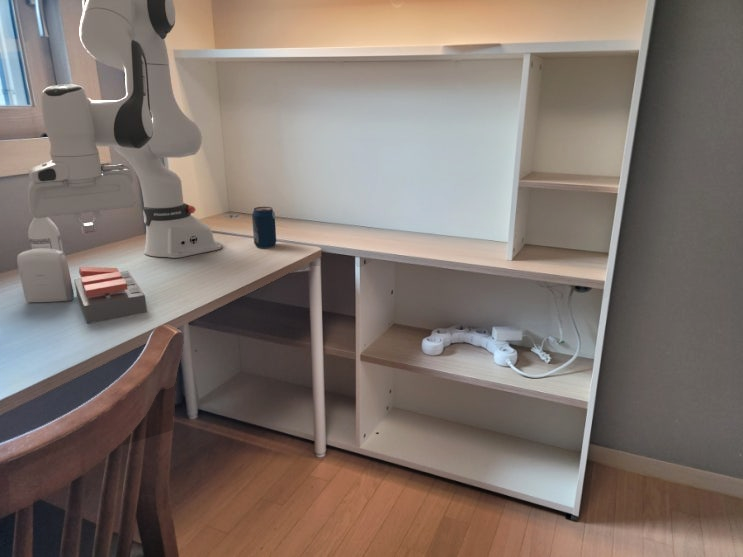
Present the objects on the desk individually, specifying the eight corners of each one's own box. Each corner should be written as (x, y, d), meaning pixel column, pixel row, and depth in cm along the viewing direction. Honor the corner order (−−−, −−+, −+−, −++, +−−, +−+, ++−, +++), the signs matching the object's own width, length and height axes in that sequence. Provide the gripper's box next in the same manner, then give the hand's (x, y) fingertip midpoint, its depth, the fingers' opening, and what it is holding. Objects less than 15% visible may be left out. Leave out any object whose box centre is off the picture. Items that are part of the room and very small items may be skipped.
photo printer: (22, 304, 125) (11, 252, 121) (32, 297, 129) (21, 246, 125) (69, 302, 126) (59, 251, 122) (77, 296, 130) (68, 246, 126)
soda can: (279, 243, 175) (278, 206, 171) (270, 249, 168) (268, 211, 164) (260, 242, 176) (257, 205, 172) (250, 248, 170) (247, 210, 166)
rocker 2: (119, 277, 127) (119, 271, 127) (122, 281, 124) (121, 275, 124) (81, 283, 123) (80, 277, 123) (83, 288, 120) (82, 282, 120)
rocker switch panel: (130, 285, 137) (127, 268, 135) (147, 311, 121) (144, 292, 119) (76, 294, 131) (73, 276, 129) (87, 323, 115) (83, 303, 113)
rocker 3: (124, 284, 122) (123, 278, 122) (127, 289, 119) (126, 283, 119) (84, 291, 118) (83, 285, 118) (87, 296, 115) (86, 290, 115)
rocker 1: (116, 273, 132) (116, 268, 132) (119, 277, 129) (119, 272, 129) (79, 272, 128) (79, 266, 127) (81, 276, 125) (81, 271, 124)
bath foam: (55, 273, 146) (41, 199, 139) (74, 276, 143) (60, 201, 136) (31, 281, 140) (14, 204, 133) (49, 285, 137) (34, 206, 130)
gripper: (128, 161, 121) (137, 222, 126) (20, 170, 110) (35, 235, 115) (133, 165, 116) (143, 228, 121) (21, 174, 105) (37, 243, 110)
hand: (89, 232), depth 118 cm, fingers closed
